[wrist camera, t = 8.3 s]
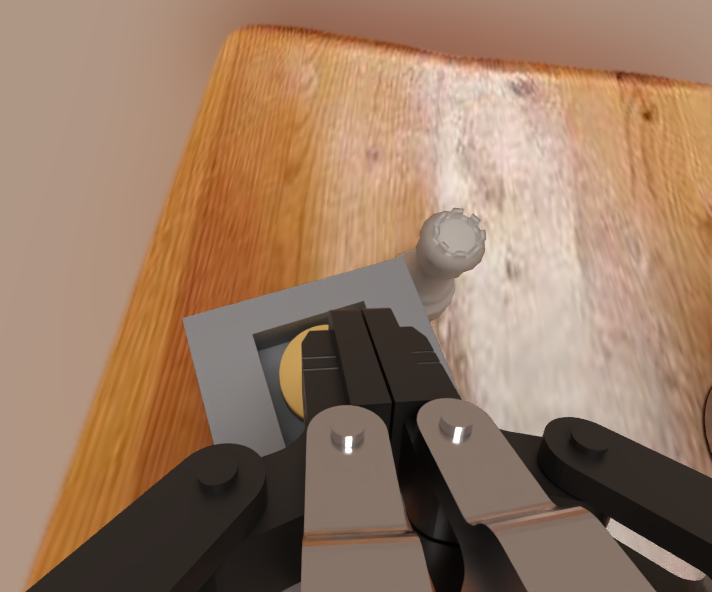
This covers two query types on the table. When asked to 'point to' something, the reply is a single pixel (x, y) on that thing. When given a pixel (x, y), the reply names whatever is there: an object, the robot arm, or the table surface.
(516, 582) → the robot arm
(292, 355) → the amber button
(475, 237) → the rook chess piece
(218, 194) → the table surface
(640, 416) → the table surface
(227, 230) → the table surface
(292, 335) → the console
